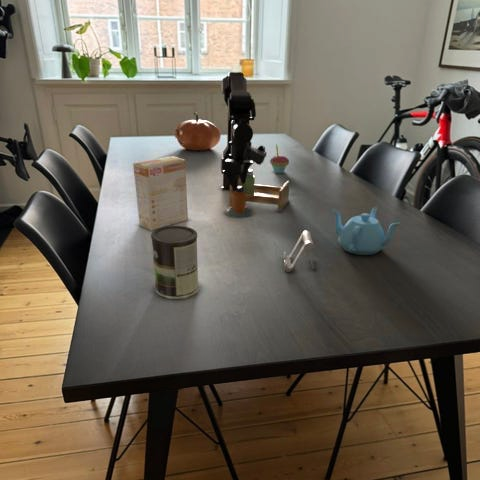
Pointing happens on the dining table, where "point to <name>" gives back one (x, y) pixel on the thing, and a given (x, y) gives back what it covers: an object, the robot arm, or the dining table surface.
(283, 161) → the cupcake
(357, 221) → the teapot
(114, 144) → the dining table surface
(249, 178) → the green bottle
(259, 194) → the spice rack
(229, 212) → the coaster
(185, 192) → the coffeecake box
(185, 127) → the pumpkin
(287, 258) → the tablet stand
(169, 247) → the coffee can
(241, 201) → the amber bottle
